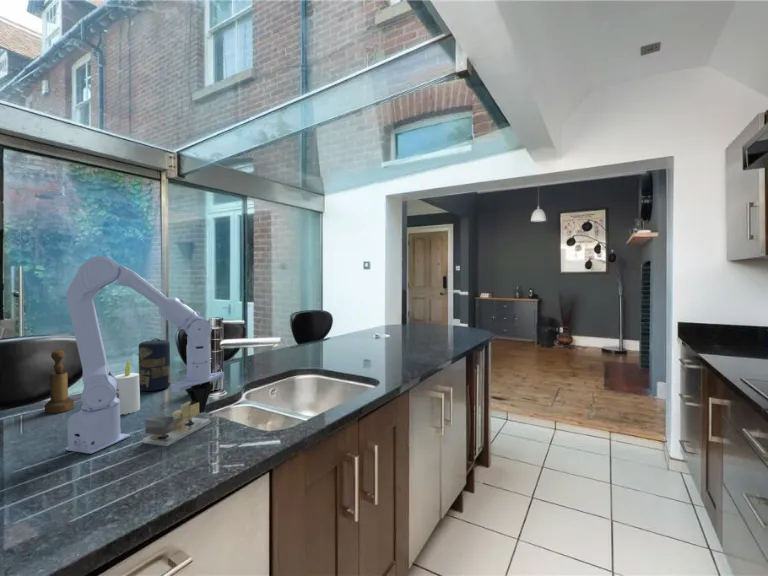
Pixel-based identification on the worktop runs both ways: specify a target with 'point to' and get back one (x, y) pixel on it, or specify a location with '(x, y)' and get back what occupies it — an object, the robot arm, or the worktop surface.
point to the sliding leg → (187, 410)
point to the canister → (154, 365)
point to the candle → (128, 391)
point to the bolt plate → (177, 432)
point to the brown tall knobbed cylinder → (58, 387)
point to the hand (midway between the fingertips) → (199, 411)
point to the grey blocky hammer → (162, 424)
